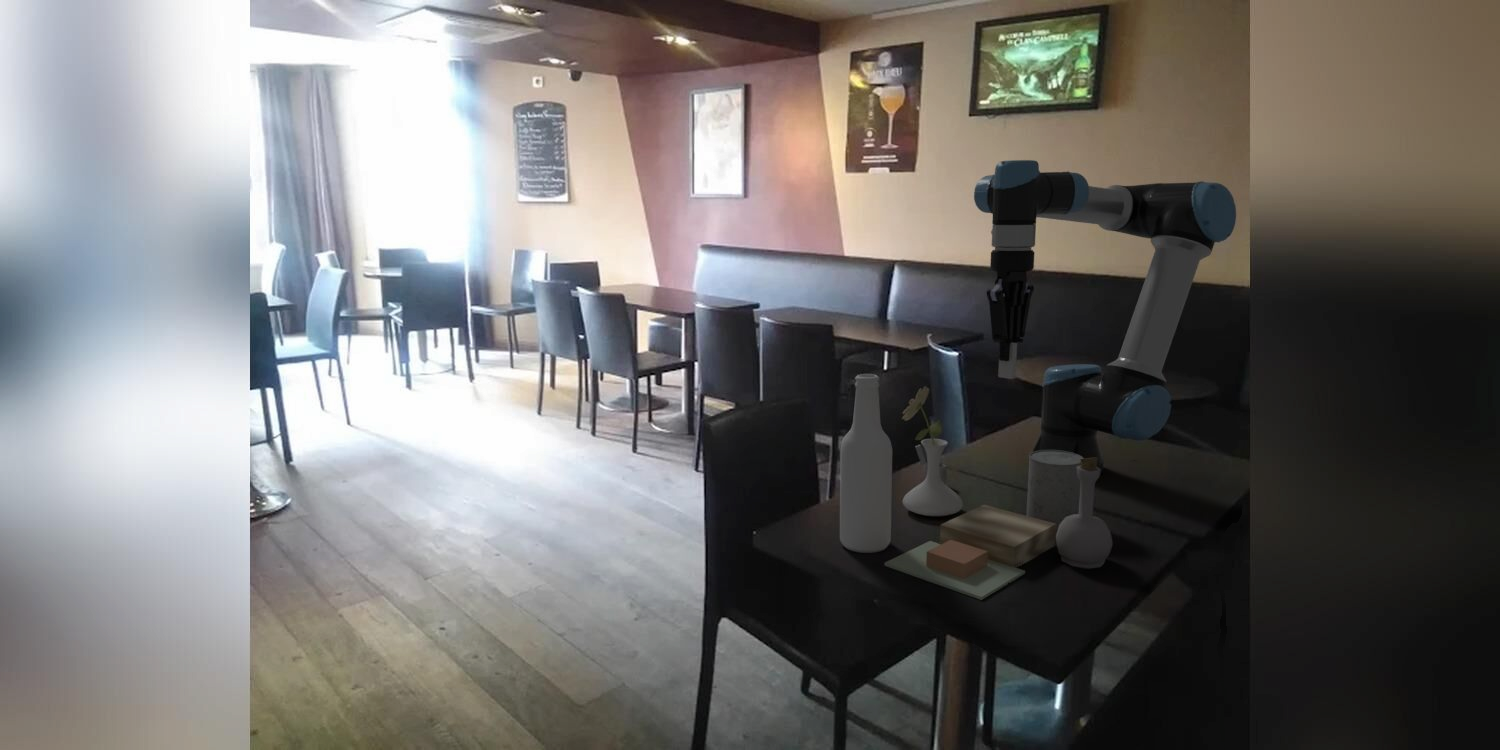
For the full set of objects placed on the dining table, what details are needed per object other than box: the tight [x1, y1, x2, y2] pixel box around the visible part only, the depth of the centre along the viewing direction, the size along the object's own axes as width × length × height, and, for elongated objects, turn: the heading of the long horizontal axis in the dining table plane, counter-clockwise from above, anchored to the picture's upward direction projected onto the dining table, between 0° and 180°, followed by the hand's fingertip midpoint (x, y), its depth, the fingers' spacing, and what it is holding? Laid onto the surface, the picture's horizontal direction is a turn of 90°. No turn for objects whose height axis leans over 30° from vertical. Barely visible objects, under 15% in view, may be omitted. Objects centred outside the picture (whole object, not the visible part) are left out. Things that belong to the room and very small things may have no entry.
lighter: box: [915, 443, 948, 486], centre depth 184 cm, size 7×2×8 cm, turn 42°
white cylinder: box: [1025, 450, 1084, 531], centre depth 161 cm, size 10×10×12 cm
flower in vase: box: [901, 385, 964, 517], centre depth 165 cm, size 13×11×25 cm
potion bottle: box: [1055, 457, 1113, 570], centre depth 143 cm, size 9×9×18 cm
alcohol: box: [839, 373, 893, 554], centre depth 150 cm, size 9×9×30 cm
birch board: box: [939, 504, 1057, 568], centre depth 150 cm, size 14×14×4 cm
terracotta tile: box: [926, 540, 988, 579], centre depth 142 cm, size 7×7×2 cm
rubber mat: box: [884, 540, 1026, 601], centre depth 142 cm, size 13×18×1 cm
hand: (1006, 377), depth 162 cm, fingers closed
